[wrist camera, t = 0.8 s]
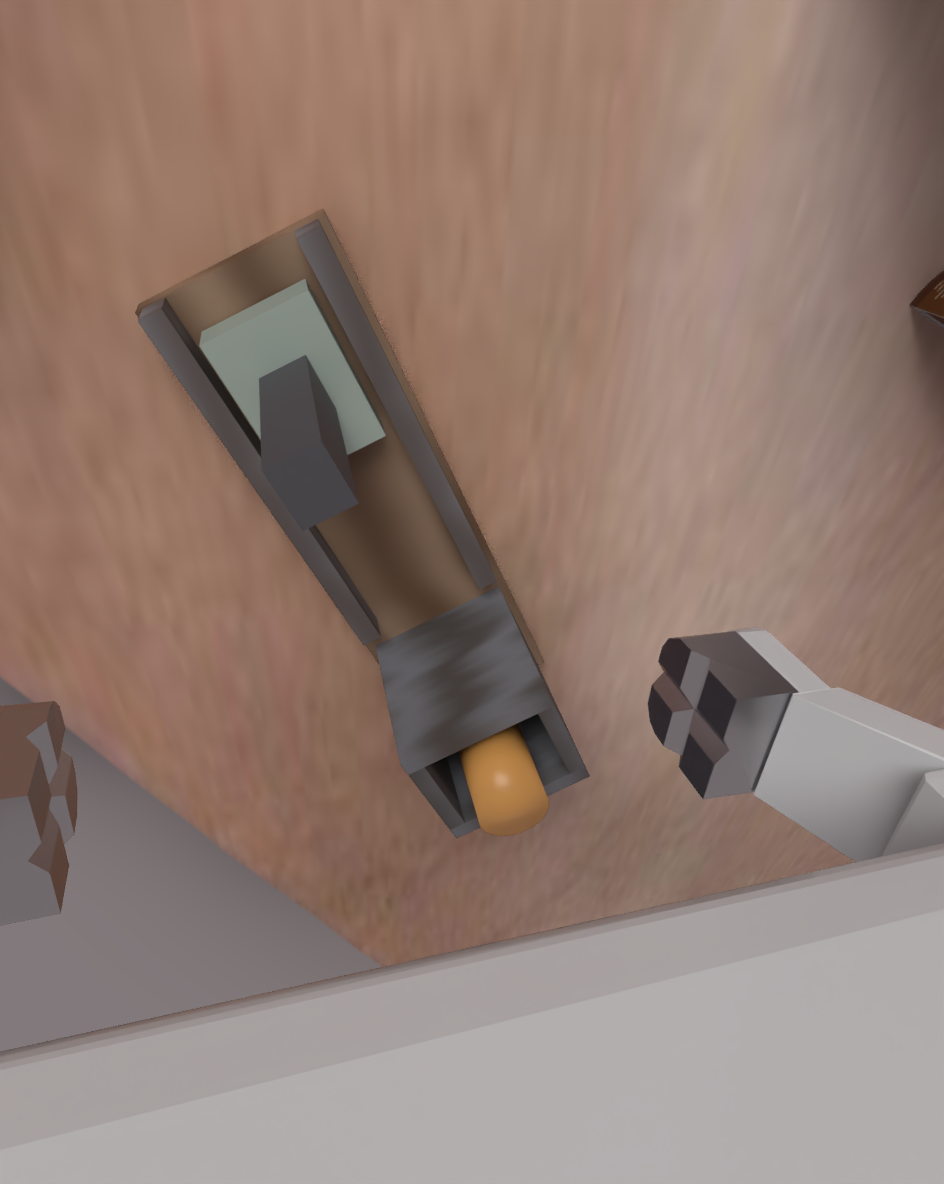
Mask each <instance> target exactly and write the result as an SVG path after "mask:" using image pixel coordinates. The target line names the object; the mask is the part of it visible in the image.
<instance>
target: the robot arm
mask: <svg viewBox="0 0 944 1184" xmlns="http://www.w3.org/2000/svg"><path fill="white" fill-rule="evenodd" d="M658 662H659V664H660V665H661V667H662V669H663V671H664V673H663V674H662V675H661V676H660V677H659V678H658V679H657V680H656V681H655V682H654V683H653V685H652V687H651V691H650V696H649V700H648V709H649V718H650V723H651V725H652V728H653V730H654V733H655V735H656V736H657V737H658V739H659V740H660V742H661V743H662V745H663V746H665V747H666V748H668V749H670V750H672V751H674V752H676V753H678V754H679V755H680V762H679V768H680V769H681V770H682V772H683V773H684V774H685V776H686V777H687V779H688V780H689V781H690V783H691V784H692V785H693V787H694V788H695V789H696V791H697V792H698V793H699V795H700V796H701V797H702V799H709V798H716V797H723V796H730V795H736V794H743V793H750V792H754V795H755V796H756V797H758V798H759V799H761V800H762V801H764V802H765V803H767V804H768V805H770V806H771V807H773V808H775V809H776V810H778V811H779V812H781V813H782V814H784V815H785V816H787V817H788V818H790V819H791V820H793V821H794V822H796V823H797V824H799V825H800V826H802V827H803V828H805V829H806V830H808V831H809V832H811V833H812V834H814V835H815V836H817V837H818V838H820V839H821V840H823V841H824V842H826V843H827V844H829V845H830V846H832V847H834V848H835V849H837V850H838V851H840V852H841V853H843V854H844V855H846V856H847V857H849V858H850V859H852V860H853V861H855V863H850V864H846V865H841V866H837V867H832V868H828V869H823V870H819V871H814V872H810V873H805V874H801V875H796V876H792V877H787V878H783V879H778V880H774V881H769V882H764V883H760V884H755V885H751V886H746V887H742V888H737V889H733V890H728V891H724V892H719V893H715V894H710V895H706V896H701V897H697V898H692V899H688V900H683V901H678V902H674V903H669V904H665V905H660V906H656V907H651V908H647V909H642V910H638V911H633V912H629V913H624V914H620V915H615V916H611V917H606V918H602V919H597V920H593V921H588V922H583V923H579V924H574V925H570V926H565V927H561V928H556V929H552V930H547V931H543V932H538V933H534V934H529V935H525V936H520V937H516V938H511V939H507V940H502V941H498V942H493V943H489V944H484V945H480V946H475V947H471V948H466V949H462V950H457V951H452V952H448V953H443V954H439V955H434V956H430V957H425V958H421V959H416V960H412V961H407V962H403V963H398V964H394V965H389V966H385V967H380V968H376V969H371V970H367V971H363V972H358V973H353V974H349V975H344V976H340V977H335V978H331V979H326V980H322V981H317V982H313V983H308V984H303V985H299V986H295V987H290V988H285V989H281V990H276V991H272V992H267V993H263V994H258V995H254V996H249V997H245V998H241V999H236V1000H231V1001H227V1002H222V1003H218V1004H214V1005H209V1006H204V1007H200V1008H196V1009H191V1010H186V1011H181V1012H178V1013H172V1014H168V1015H163V1016H159V1017H154V1018H150V1019H146V1020H141V1021H137V1022H132V1023H127V1024H123V1025H118V1026H114V1027H110V1028H105V1029H100V1030H96V1031H91V1032H87V1033H82V1034H78V1035H74V1036H69V1037H64V1038H60V1039H55V1040H51V1041H46V1042H41V1043H37V1044H32V1045H28V1046H23V1047H19V1048H14V1049H10V1050H5V1051H1V1052H0V1184H944V730H942V729H940V728H937V727H935V726H932V725H930V724H928V723H925V722H923V721H920V720H918V719H915V718H913V717H910V716H908V715H905V714H903V713H901V712H898V711H896V710H893V709H891V708H888V707H886V706H883V705H881V704H879V703H876V702H874V701H871V700H869V699H866V698H864V697H861V696H859V695H857V694H854V693H852V692H849V691H847V690H844V689H842V688H830V687H829V686H827V685H826V684H825V683H824V682H823V681H822V680H821V679H820V678H819V677H818V676H816V675H815V674H814V673H813V672H812V671H811V670H810V669H809V668H808V667H806V666H805V665H804V664H803V663H802V662H801V661H800V660H799V659H798V658H796V657H795V656H794V655H793V654H792V653H791V652H790V651H789V650H788V649H787V648H785V647H784V646H783V645H782V644H781V643H780V642H779V641H778V640H777V639H775V638H774V637H773V636H772V635H771V634H770V633H769V632H768V631H766V630H764V629H761V628H758V627H752V628H745V629H737V630H730V631H727V632H722V633H713V634H704V635H694V636H685V637H676V638H669V639H668V640H667V641H666V643H665V644H664V645H663V647H662V650H661V653H660V657H659V660H658ZM64 733H65V725H64V721H63V717H62V714H61V710H60V706H59V705H58V704H57V703H56V702H55V701H50V702H38V703H27V704H15V705H3V706H0V926H1V925H6V924H11V923H16V922H21V921H26V920H31V919H36V918H41V917H45V916H51V915H55V914H60V913H61V908H62V902H63V897H64V891H65V885H66V880H67V874H68V868H69V863H68V860H67V855H66V851H65V847H64V844H65V843H66V842H67V841H68V840H69V839H70V838H71V837H72V836H73V835H74V832H75V826H76V819H77V783H76V774H75V769H74V764H73V759H72V757H71V756H70V755H69V754H67V753H66V752H64V751H63V750H62V749H61V748H62V743H63V737H64Z"/></svg>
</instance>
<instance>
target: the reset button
mask: <svg viewBox="0 0 944 1184" xmlns="http://www.w3.org/2000/svg"><path fill="white" fill-rule="evenodd" d="M458 753H459V757H460V760H461V763H462V767H463V770H464V774H465V777H466V780H467V784H468V787H469V790H470V794H471V797H472V801H473V804H474V807H475V811H476V814H477V818H478V821H479V824H480V826H481V828H482V829H483V830H484V831H486V832H487V833H489V834H492V835H497V836H509V835H515V834H518V833H521V832H524V831H526V830H528V829H530V828H532V827H533V826H535V825H536V824H537V823H539V822H540V821H541V820H542V819H543V817H544V816H545V815H546V813H547V811H548V807H549V800H548V797H547V795H546V792H545V790H544V787H543V785H542V782H541V780H540V777H539V775H538V772H537V770H536V767H535V764H534V762H533V759H532V757H531V754H530V752H529V749H528V747H527V744H526V742H525V739H524V737H523V734H522V732H521V729H520V727H519V724H518V723H517V724H515V725H513V726H511V727H509V728H506V729H504V730H502V731H500V732H498V733H496V734H494V735H492V736H489V737H487V738H485V739H483V740H481V741H479V742H477V743H475V744H473V745H470V746H468V747H466V748H464V749H462V750H460V751H458Z"/></svg>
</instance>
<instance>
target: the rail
mask: <svg viewBox="0 0 944 1184" xmlns="http://www.w3.org/2000/svg"><path fill="white" fill-rule="evenodd" d="M303 279H306V281H307V283H308V284H309V286H310V288H311V290H312V292H313V294H314V296H315V298H316V299H317V301H318V303H319V305H320V307H321V309H322V311H323V313H324V315H325V316H326V318H327V320H328V322H329V324H330V326H331V328H332V330H333V331H334V333H335V335H336V337H337V339H338V341H339V343H340V345H341V347H342V348H343V350H344V352H345V354H346V356H347V358H348V360H349V362H350V363H351V365H352V367H353V369H354V371H355V373H356V375H357V377H358V378H359V380H360V382H361V384H362V386H363V388H364V390H365V392H366V394H367V395H368V397H369V399H370V401H371V403H372V405H373V407H374V409H375V410H376V412H377V414H378V416H379V418H380V420H381V423H382V426H383V429H384V432H385V434H386V436H385V437H383V438H381V439H379V440H377V441H375V442H373V443H371V444H369V445H367V446H365V447H363V448H361V449H359V450H357V451H355V452H353V453H351V454H349V455H347V456H348V460H349V465H350V469H351V473H352V477H353V481H354V485H355V490H356V494H357V498H358V502H359V504H357V505H355V506H353V507H351V508H349V509H347V510H345V511H343V512H341V513H339V514H337V515H335V516H333V517H331V518H329V519H327V520H325V521H323V522H321V523H319V524H317V525H315V526H313V527H311V528H308V529H306V530H304V531H302V530H301V528H300V527H299V525H298V524H297V523H296V521H295V520H294V518H293V517H292V515H291V514H290V512H289V511H288V509H287V508H286V506H285V505H284V503H283V502H282V500H281V499H280V497H279V496H278V494H277V493H276V492H275V490H274V489H273V487H272V486H271V484H270V483H269V481H268V480H267V478H266V477H265V475H264V474H263V472H262V465H261V439H260V438H259V436H258V435H257V433H256V432H255V430H254V428H253V427H252V425H251V424H250V422H249V421H248V419H247V418H246V416H245V415H244V413H243V412H242V410H241V409H240V407H239V406H238V404H237V403H236V401H235V400H234V398H233V397H232V395H231V394H230V392H229V390H228V389H227V387H226V386H225V384H224V383H223V381H222V380H221V378H220V377H219V375H218V374H217V372H216V371H215V369H214V368H213V366H212V365H211V363H210V362H209V360H208V359H207V357H206V356H205V354H204V352H203V351H202V349H201V348H200V346H199V344H200V338H201V332H202V331H204V330H206V329H208V328H210V327H212V326H214V325H216V324H218V323H220V322H221V321H223V320H225V319H227V318H229V317H231V316H233V315H235V314H237V313H239V312H241V311H243V310H245V309H247V308H249V307H251V306H253V305H255V304H257V303H259V302H260V301H262V300H264V299H266V298H268V297H270V296H272V295H274V294H276V293H278V292H280V291H282V290H284V289H286V288H288V287H290V286H292V285H294V284H296V283H298V282H300V281H301V280H303ZM135 313H136V315H137V316H138V318H139V319H138V322H139V324H140V325H141V327H142V328H143V330H144V331H145V332H146V334H147V335H148V337H149V338H150V340H151V341H152V342H153V344H154V345H155V347H156V348H157V350H158V351H159V352H160V354H161V355H162V357H163V358H164V360H165V361H166V363H167V364H168V365H169V367H170V368H171V370H172V371H173V373H174V374H175V375H176V377H177V378H178V380H179V381H180V383H181V384H182V385H183V387H184V388H185V390H186V391H187V393H188V394H189V396H190V397H191V398H192V400H193V401H194V403H195V404H196V406H197V407H198V408H199V410H200V411H201V413H202V414H203V416H204V417H205V418H206V420H207V421H208V423H209V424H210V426H211V427H212V429H213V430H214V431H215V433H216V434H217V436H218V437H219V439H220V440H221V441H222V443H223V444H224V446H225V447H226V449H227V450H228V451H229V453H230V454H231V456H232V457H233V459H234V460H235V461H236V463H237V464H238V466H239V467H240V469H241V470H242V472H243V473H244V474H245V476H246V477H247V479H248V480H249V482H250V483H251V484H252V486H253V487H254V489H255V490H256V492H257V493H258V494H259V496H260V497H261V499H262V500H263V502H264V503H265V505H266V506H267V507H268V509H269V510H270V512H271V513H272V515H273V516H274V517H275V519H276V520H277V522H278V523H279V525H280V526H281V527H282V529H283V530H284V532H285V533H286V535H287V536H288V538H289V539H290V540H291V542H292V543H293V545H294V546H295V548H296V549H297V550H298V552H299V553H300V555H301V556H302V558H303V559H304V560H305V562H306V563H307V565H308V566H309V568H310V569H311V570H312V572H313V573H314V575H315V576H316V578H317V579H318V581H319V582H320V583H321V585H322V586H323V588H324V589H325V591H326V592H327V593H328V595H329V596H330V598H331V599H332V601H333V602H334V603H335V605H336V606H337V608H338V609H339V611H340V612H341V614H342V615H343V616H344V618H345V619H346V621H347V622H348V624H349V625H350V626H351V628H352V629H353V631H354V632H355V634H356V635H357V636H358V638H359V639H360V641H361V642H362V644H363V645H366V646H367V647H368V649H369V650H370V652H371V653H372V655H373V656H374V658H375V659H376V660H377V662H378V663H379V665H380V670H381V674H382V679H383V684H384V689H385V694H386V698H387V703H388V708H389V713H390V717H391V722H392V727H393V732H394V736H395V741H396V746H397V751H398V755H399V760H400V765H401V766H402V767H403V769H404V770H405V771H406V773H407V774H408V775H409V777H410V778H411V779H412V781H413V782H414V783H415V785H416V786H417V787H418V788H419V790H420V791H421V792H422V794H423V795H424V796H425V798H426V799H427V800H428V802H429V803H430V804H431V805H432V807H433V808H434V809H435V811H436V812H437V813H438V815H439V816H440V817H441V819H442V820H443V821H444V823H445V824H446V825H447V826H448V828H449V829H450V830H451V832H452V833H453V834H454V836H455V837H456V838H458V837H460V836H463V835H465V834H467V833H469V832H471V831H473V830H475V829H478V828H480V827H481V826H480V824H479V821H478V818H477V814H476V811H475V807H474V804H473V801H472V797H471V794H470V790H469V787H468V784H467V780H466V777H465V774H464V770H463V767H462V763H461V760H460V757H459V753H458V751H460V750H462V749H464V748H466V747H468V746H470V745H473V744H475V743H477V742H479V741H481V740H483V739H485V738H487V737H489V736H492V735H494V734H496V733H498V732H500V731H502V730H504V729H506V728H509V727H511V726H513V725H515V724H517V723H518V724H519V727H520V729H521V732H522V734H523V737H524V739H525V742H526V744H527V747H528V749H529V752H530V754H531V757H532V759H533V762H534V764H535V767H536V770H537V772H538V775H539V777H540V780H541V782H542V785H543V787H544V790H545V792H546V795H547V796H548V795H550V794H552V793H555V792H557V791H559V790H561V789H563V788H565V787H567V786H570V785H572V784H574V783H576V782H578V781H580V780H582V779H585V778H587V777H589V774H588V771H587V769H586V767H585V765H584V763H583V761H582V759H581V756H580V754H579V752H578V750H577V748H576V746H575V744H574V741H573V739H572V737H571V735H570V733H569V731H568V729H567V726H566V724H565V722H564V720H563V718H562V716H561V713H560V711H559V709H558V707H557V705H556V703H555V701H554V698H553V696H552V694H551V692H550V690H549V688H548V686H547V683H546V681H545V679H544V677H543V675H542V673H541V671H540V668H539V666H538V665H539V664H541V663H544V660H543V658H542V656H541V654H540V652H539V650H538V648H537V646H536V644H535V642H534V640H533V638H532V636H531V634H530V632H529V629H528V627H527V625H526V623H525V621H524V619H523V617H522V615H521V613H520V611H519V609H518V607H517V605H516V603H515V601H514V599H513V597H512V595H511V593H510V591H509V589H508V586H507V584H506V582H505V580H504V578H503V576H502V574H501V572H500V570H499V568H498V566H497V564H496V562H495V560H494V558H493V556H492V554H491V552H490V550H489V548H488V546H487V544H486V541H485V539H484V537H483V535H482V533H481V531H480V529H479V527H478V525H477V523H476V521H475V519H474V517H473V515H472V513H471V511H470V509H469V507H468V505H467V503H466V501H465V498H464V496H463V494H462V492H461V490H460V488H459V486H458V484H457V482H456V480H455V478H454V476H453V474H452V472H451V470H450V468H449V466H448V464H447V462H446V460H445V458H444V455H443V453H442V451H441V449H440V447H439V445H438V443H437V441H436V439H435V437H434V435H433V433H432V431H431V429H430V427H429V425H428V423H427V421H426V419H425V417H424V415H423V412H422V410H421V408H420V406H419V404H418V402H417V400H416V398H415V396H414V394H413V392H412V390H411V388H410V386H409V384H408V382H407V380H406V378H405V376H404V374H403V372H402V369H401V367H400V365H399V363H398V361H397V359H396V357H395V355H394V353H393V351H392V349H391V347H390V345H389V343H388V341H387V339H386V337H385V335H384V333H383V331H382V329H381V326H380V324H379V322H378V320H377V318H376V316H375V314H374V312H373V310H372V308H371V306H370V304H369V302H368V300H367V298H366V296H365V294H364V292H363V290H362V288H361V286H360V283H359V281H358V279H357V277H356V275H355V273H354V271H353V269H352V267H351V265H350V263H349V261H348V259H347V257H346V255H345V253H344V251H343V249H342V247H341V245H340V243H339V240H338V238H337V236H336V234H335V232H334V230H333V228H332V226H331V224H330V222H329V220H328V218H327V216H326V214H325V212H324V210H323V209H322V210H320V211H318V212H316V213H314V214H312V215H310V216H308V217H307V218H305V219H303V220H301V221H299V222H297V223H295V224H293V225H291V226H289V227H287V228H285V229H283V230H281V231H279V232H278V233H276V234H274V235H272V236H270V237H268V238H266V239H264V240H262V241H260V242H258V243H256V244H254V245H252V246H250V247H249V248H247V249H245V250H243V251H241V252H239V253H237V254H235V255H233V256H231V257H229V258H227V259H225V260H223V261H221V262H220V263H218V264H216V265H214V266H212V267H210V268H208V269H206V270H204V271H202V272H200V273H198V274H196V275H194V276H192V277H190V278H189V279H187V280H185V281H183V282H181V283H179V284H177V285H175V286H173V287H171V288H169V289H167V290H165V291H163V292H161V293H160V294H158V295H156V296H154V297H152V298H150V299H148V300H146V301H144V302H142V303H140V304H139V305H138V307H137V310H136V312H135Z"/></svg>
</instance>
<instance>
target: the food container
mask: <svg viewBox="0 0 944 1184" xmlns="http://www.w3.org/2000/svg"><path fill="white" fill-rule="evenodd" d="M910 306H911V307H913V308H914V309H916V310H917V311H919V312H920V313H922V314H923V315H925V316H926V317H928V318H929V319H931V320H932V321H934V322H935V323H937V324H938V325H940V326H941V327H943V328H944V271H943V272H941V273H940V274H939V275H938V276H937V277H935V278H934V279H933V280H932V281H931V282H930V283H929V284H928V285H927V286H926V287H925V288H924V289H923V290H922V291H921V292H920V293H919V294H918V295H917V297H916V298H915V299H914V300H913V302H912V303H911V304H910Z"/></svg>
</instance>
